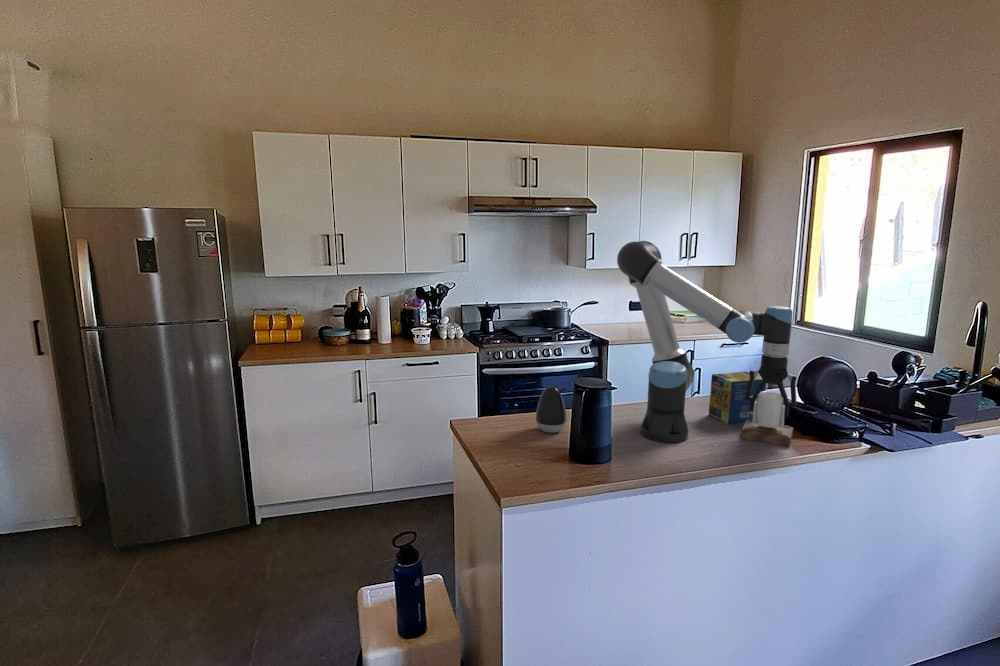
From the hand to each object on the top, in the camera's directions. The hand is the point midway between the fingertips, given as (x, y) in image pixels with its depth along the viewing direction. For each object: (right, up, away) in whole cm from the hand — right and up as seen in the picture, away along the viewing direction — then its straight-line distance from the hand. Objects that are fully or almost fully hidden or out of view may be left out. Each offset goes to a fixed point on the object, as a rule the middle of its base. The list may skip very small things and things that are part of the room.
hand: (767, 423), depth 178 cm
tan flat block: (0, -5, +1) cm, 5 cm away
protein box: (-2, -1, +20) cm, 20 cm away
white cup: (0, 0, 0) cm, 0 cm away
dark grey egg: (-70, -3, +6) cm, 70 cm away
